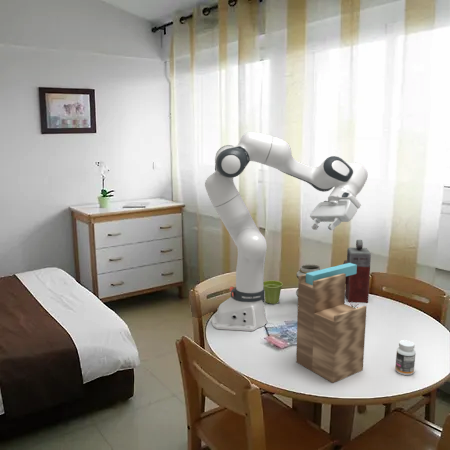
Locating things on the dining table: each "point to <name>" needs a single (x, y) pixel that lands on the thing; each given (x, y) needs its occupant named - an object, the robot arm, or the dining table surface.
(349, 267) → the bar
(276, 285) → the plant pot
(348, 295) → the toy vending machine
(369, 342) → the dining table surface
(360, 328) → the stepped wooden block
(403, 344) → the pill bottle
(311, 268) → the apothecary jar
